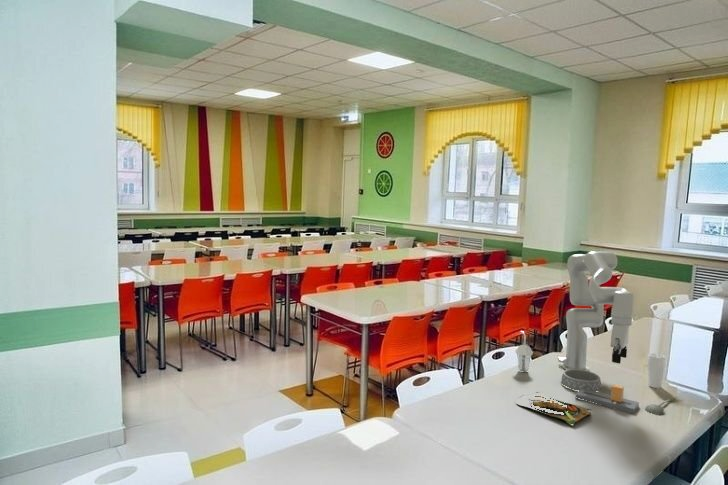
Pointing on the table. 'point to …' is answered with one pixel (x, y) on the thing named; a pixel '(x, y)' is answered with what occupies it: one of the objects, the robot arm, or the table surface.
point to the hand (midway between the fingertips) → (619, 359)
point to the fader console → (607, 400)
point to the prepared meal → (563, 410)
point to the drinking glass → (655, 370)
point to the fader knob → (617, 393)
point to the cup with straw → (523, 356)
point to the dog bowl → (581, 380)
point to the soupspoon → (657, 408)
